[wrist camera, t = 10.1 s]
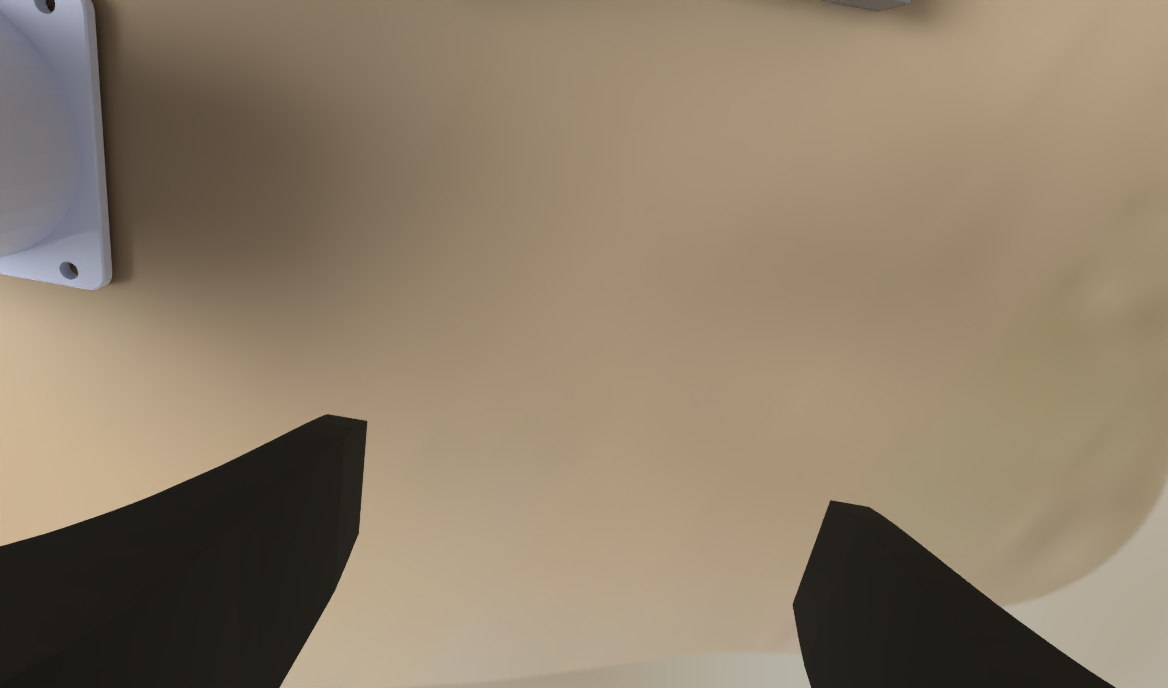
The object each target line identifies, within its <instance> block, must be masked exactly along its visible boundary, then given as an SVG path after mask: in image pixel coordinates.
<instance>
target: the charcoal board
mask: <svg viewBox="0 0 1168 688" xmlns="http://www.w3.org/2000/svg"><path fill="white" fill-rule="evenodd" d="M824 1H828V2H833V3H838V4H843V5H848V6H853V7H858V8H863V9H868V10H873V11H881V10H885V9H889V8H893V7H897V6H901V5H905V4H909V3H910V2H911V0H824Z"/></svg>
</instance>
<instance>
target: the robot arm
mask: <svg viewBox="0 0 1168 688" xmlns="http://www.w3.org/2000/svg"><path fill="white" fill-rule="evenodd" d="M54 1H55V10H54V11H53V12H51V11H50V10H49V9H48V8H47V5H46V0H0V274H2V275H8V276H13V277H19V278H25V279H30V280H36V281H42V282H47V283H53V284H59V285H64V286H70V287H76V288H81V289H87V290H96V289H99V288H101V287H103V286H106V285H108V284H109V282H110V281H111V279H112V261H111V246H110V231H109V217H108V202H107V187H106V172H105V157H104V142H103V127H102V112H101V98H100V83H99V68H98V53H97V38H96V23H95V10H94V6H93V3H92V1H91V0H54ZM70 263H73V264H74V265H75V266H76V267H77V270H78V275H76V274H74V273H73V272H72V271H71V269H70V266H69V264H70ZM366 431H367V421H364V420H358V419H352V418H346V417H340V416H334V415H329V414H327V415H324V416H322V417H319V418H317V419H315V420H312V421H310V422H308V423H306V424H304V425H302V426H300V427H298V428H296V429H294V430H292V431H290V432H288V433H286V434H284V435H282V436H280V437H278V438H276V439H274V440H272V441H270V442H268V443H266V444H264V445H262V446H260V447H258V448H256V449H254V450H252V451H250V452H248V453H246V454H244V455H242V456H240V457H238V458H236V459H233V460H231V461H229V462H227V463H225V464H223V465H221V466H219V467H217V468H214V469H212V470H210V471H208V472H205V473H203V474H201V475H198V476H196V477H194V478H192V479H189V480H187V481H185V482H183V483H180V484H178V485H176V486H173V487H171V488H169V489H167V490H164V491H162V492H160V493H157V494H155V495H153V496H150V497H148V498H145V499H143V500H140V501H138V502H135V503H133V504H130V505H127V506H125V507H122V508H119V509H117V510H114V511H111V512H109V513H106V514H103V515H100V516H97V517H94V518H91V519H88V520H85V521H82V522H80V523H77V524H74V525H71V526H68V527H65V528H62V529H59V530H56V531H53V532H49V533H46V534H43V535H39V536H36V537H32V538H29V539H25V540H22V541H18V542H15V543H11V544H7V545H4V546H0V688H279V687H280V686H281V684H282V682H283V680H284V679H285V677H286V675H287V674H288V672H289V670H290V668H291V667H292V665H293V663H294V661H295V660H296V658H297V656H298V655H299V653H300V651H301V649H302V648H303V646H304V644H305V643H306V641H307V639H308V637H309V636H310V634H311V632H312V630H313V629H314V627H315V625H316V623H317V622H318V620H319V618H320V616H321V615H322V613H323V611H324V609H325V608H326V606H327V604H328V602H329V600H330V599H331V597H332V595H333V593H334V591H335V589H336V587H337V585H338V582H339V580H340V578H341V575H342V573H343V571H344V568H345V566H346V563H347V561H348V559H349V556H350V554H351V551H352V549H353V546H354V544H355V541H356V539H357V536H358V534H359V523H360V510H361V496H362V483H363V470H364V457H365V444H366ZM793 610H794V615H795V621H796V626H797V632H798V638H799V642H800V647H801V652H802V657H803V661H804V666H805V669H806V672H807V675H808V679H809V681H810V685H811V688H1115V687H1114V686H1112V685H1111V684H1109V683H1108V682H1106V681H1104V680H1103V679H1101V678H1100V677H1098V676H1096V675H1095V674H1094V673H1092V672H1090V671H1089V670H1087V669H1086V668H1085V667H1083V666H1082V665H1080V664H1079V663H1077V662H1076V661H1074V660H1073V659H1071V658H1070V657H1068V656H1067V655H1066V654H1064V653H1063V652H1061V651H1060V650H1058V649H1057V648H1056V647H1054V646H1053V645H1052V644H1050V643H1049V642H1047V641H1046V640H1045V639H1043V638H1042V637H1040V636H1039V635H1038V634H1036V633H1035V632H1034V631H1032V630H1031V629H1029V628H1028V627H1027V626H1025V625H1024V624H1022V623H1021V622H1019V621H1018V620H1017V619H1016V618H1014V617H1013V616H1012V615H1010V614H1009V613H1008V612H1006V611H1005V610H1004V609H1002V608H1001V607H1000V606H998V605H997V604H996V603H994V602H993V601H992V600H991V599H989V598H988V597H987V596H985V595H984V594H983V593H981V592H980V591H979V590H978V589H976V588H975V587H974V586H973V585H971V584H970V583H969V582H967V581H966V580H965V579H964V578H962V577H961V576H960V575H959V574H957V573H956V572H955V571H953V570H952V569H951V568H950V567H948V566H947V565H946V564H945V563H943V562H942V561H941V560H940V559H938V558H937V557H936V556H935V555H933V554H932V553H931V552H930V551H928V550H927V549H926V548H924V547H923V546H922V545H921V544H919V543H918V542H917V541H916V540H914V539H913V538H912V537H910V536H909V535H908V534H907V533H905V532H904V531H903V530H901V529H900V528H899V527H897V526H896V525H895V524H893V523H892V522H891V521H889V520H888V519H886V518H885V517H884V516H882V515H881V514H879V513H878V512H876V511H874V510H873V509H871V508H870V507H866V506H860V505H854V504H848V503H843V502H837V501H831V500H830V503H829V506H828V508H827V511H826V514H825V517H824V520H823V522H822V525H821V528H820V531H819V533H818V536H817V539H816V542H815V544H814V547H813V550H812V553H811V555H810V558H809V561H808V564H807V566H806V569H805V572H804V575H803V577H802V580H801V583H800V586H799V588H798V591H797V594H796V597H795V599H794V602H793Z"/></svg>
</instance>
